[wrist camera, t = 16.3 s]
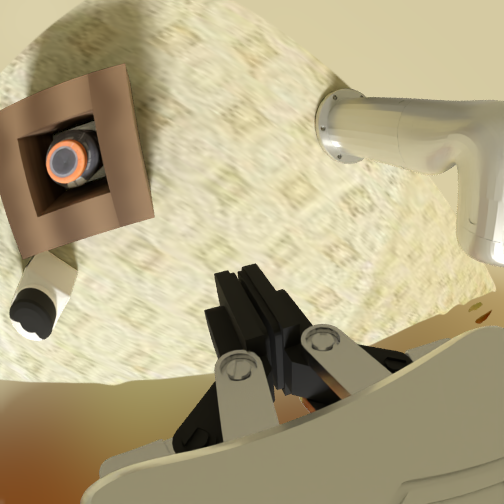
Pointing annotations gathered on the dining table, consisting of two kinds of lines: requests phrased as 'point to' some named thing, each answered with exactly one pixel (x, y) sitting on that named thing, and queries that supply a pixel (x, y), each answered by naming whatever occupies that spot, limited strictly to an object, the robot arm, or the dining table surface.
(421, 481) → the robot arm
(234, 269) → the dining table surface
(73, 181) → the pill bottle
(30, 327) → the medicine bottle
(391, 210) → the dining table surface
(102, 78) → the wooden box holder
